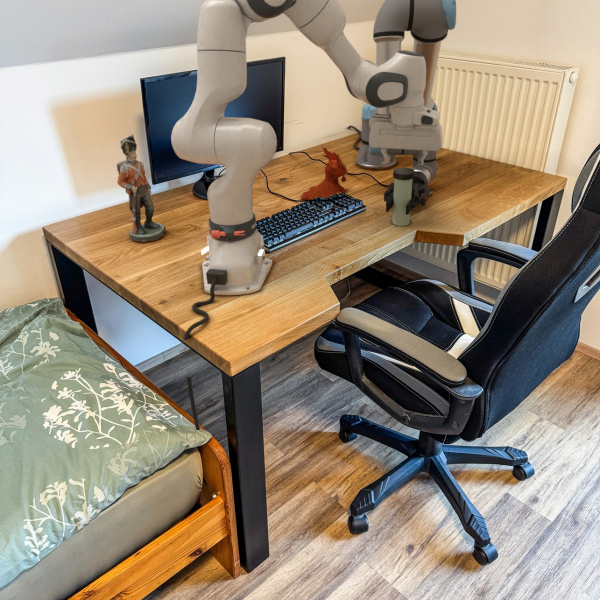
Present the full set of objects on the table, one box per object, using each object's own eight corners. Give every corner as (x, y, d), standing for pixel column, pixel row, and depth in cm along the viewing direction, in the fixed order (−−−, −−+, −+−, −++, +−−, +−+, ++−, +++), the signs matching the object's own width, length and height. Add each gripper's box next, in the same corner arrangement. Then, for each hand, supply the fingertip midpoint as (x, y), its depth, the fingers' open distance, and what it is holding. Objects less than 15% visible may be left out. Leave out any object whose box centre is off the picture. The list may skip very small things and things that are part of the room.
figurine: (157, 243, 164) (137, 141, 148) (123, 241, 166) (100, 140, 150) (171, 228, 173) (154, 130, 157) (139, 226, 175) (119, 129, 159)
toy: (355, 194, 190) (356, 151, 182) (309, 205, 184) (308, 160, 176) (337, 183, 200) (337, 141, 192) (293, 193, 193) (291, 150, 186)
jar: (410, 225, 168) (414, 175, 160) (393, 226, 168) (396, 175, 160) (407, 218, 173) (411, 169, 164) (390, 219, 173) (393, 169, 164)
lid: (416, 179, 160) (416, 174, 159) (394, 180, 160) (394, 175, 159) (412, 172, 165) (412, 167, 165) (391, 173, 166) (391, 167, 165)
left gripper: (367, 116, 154) (365, 165, 162) (443, 119, 149) (438, 169, 156) (371, 110, 159) (370, 157, 167) (445, 113, 154) (440, 162, 161)
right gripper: (443, 196, 180) (427, 225, 162) (388, 189, 186) (366, 216, 168) (446, 173, 176) (429, 200, 158) (389, 167, 182) (367, 193, 164)
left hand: (403, 163), depth 161 cm, fingers open, 8 cm apart
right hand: (397, 209), depth 163 cm, fingers closed on jar, 5 cm apart
